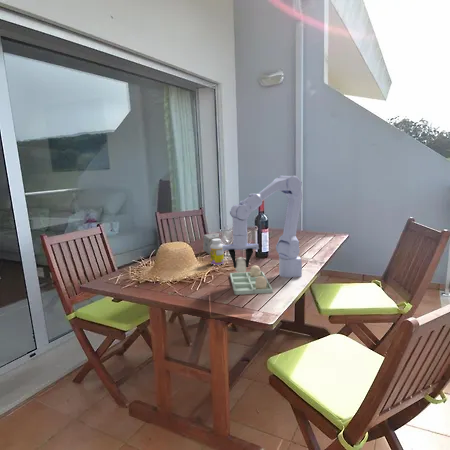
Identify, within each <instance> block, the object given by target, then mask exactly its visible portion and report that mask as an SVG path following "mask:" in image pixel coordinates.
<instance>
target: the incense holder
mask: <svg viewBox="0 0 450 450" xmlns="http://www.w3.org/2000/svg"><path fill="white" fill-rule="evenodd" d="M219 234H220V233H219V232H216V233H215V232H214V233H207V234H203V246H202V247H203V249H202V250H203V251H204V252H206V254H208V255H210V246H211V244H212V239H216V238H218V239H220V238H219Z"/></svg>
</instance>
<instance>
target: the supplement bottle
mask: <svg viewBox="0 0 450 450" xmlns="http://www.w3.org/2000/svg"><path fill="white" fill-rule="evenodd" d="M209 255H210V264H211V265H212V264H215V265H219V266H222V265H224V262H225V257H224V255H225V254H224V251H223V249H222V244H221V239H218V238H216V239H212V244H211V246H210V254H209ZM221 264H222V265H221ZM215 265H214V266H215Z"/></svg>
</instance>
